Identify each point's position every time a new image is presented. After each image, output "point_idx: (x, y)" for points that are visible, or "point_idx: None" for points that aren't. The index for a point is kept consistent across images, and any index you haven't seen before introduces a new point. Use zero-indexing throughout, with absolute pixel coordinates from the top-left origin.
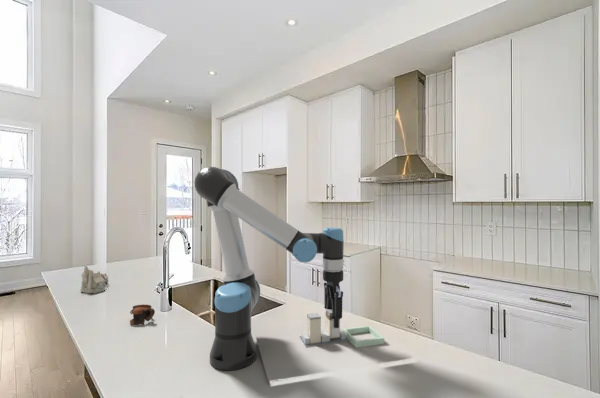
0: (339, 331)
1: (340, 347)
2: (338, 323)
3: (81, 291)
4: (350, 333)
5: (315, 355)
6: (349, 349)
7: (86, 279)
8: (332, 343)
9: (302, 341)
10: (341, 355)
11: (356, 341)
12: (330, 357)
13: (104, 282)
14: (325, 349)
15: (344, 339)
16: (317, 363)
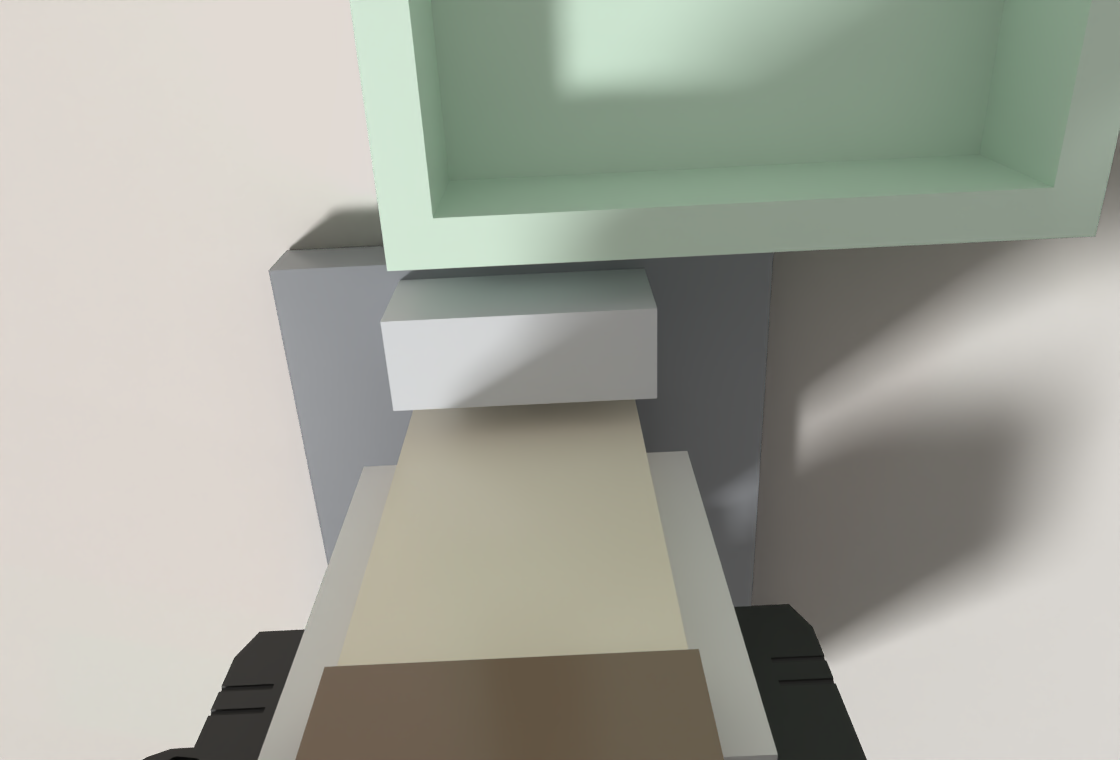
0: (648, 464)
1: (783, 393)
2: (835, 694)
3: None
4: (430, 74)
5: (869, 740)
6: (903, 275)
7: None
8: (736, 532)
9: None
10: (1020, 456)
11: (1088, 213)
12: (998, 602)
13: None
14: (765, 604)
15: (657, 297)
16: (1053, 757)
